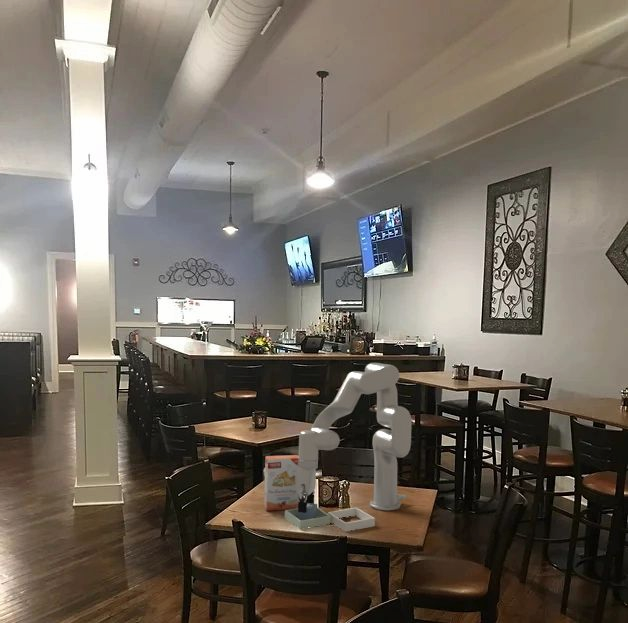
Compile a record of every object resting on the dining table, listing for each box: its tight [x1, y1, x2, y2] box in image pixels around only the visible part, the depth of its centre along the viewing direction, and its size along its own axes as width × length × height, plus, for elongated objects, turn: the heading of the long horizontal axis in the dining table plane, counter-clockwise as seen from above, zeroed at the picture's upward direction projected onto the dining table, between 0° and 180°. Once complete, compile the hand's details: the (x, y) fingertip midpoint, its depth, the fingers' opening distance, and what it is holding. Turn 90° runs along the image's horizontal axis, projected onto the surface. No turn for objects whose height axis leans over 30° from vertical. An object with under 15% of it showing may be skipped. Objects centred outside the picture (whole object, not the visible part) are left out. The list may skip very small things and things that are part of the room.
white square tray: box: [327, 507, 376, 533], centre depth 210 cm, size 13×13×3 cm
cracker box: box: [263, 454, 299, 512], centre depth 226 cm, size 14×6×21 cm, turn 105°
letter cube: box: [297, 503, 318, 521], centre depth 211 cm, size 6×6×6 cm
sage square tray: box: [284, 507, 332, 530], centre depth 211 cm, size 13×13×3 cm
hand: (306, 508), depth 211 cm, fingers open, 9 cm apart
